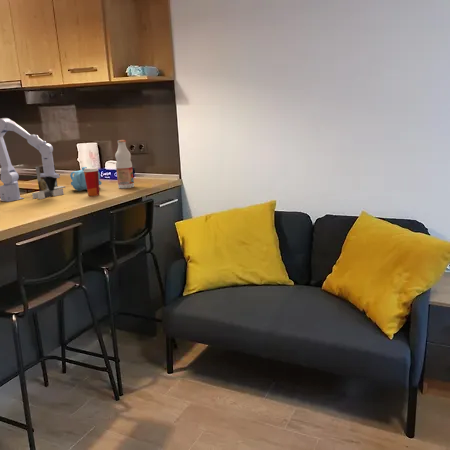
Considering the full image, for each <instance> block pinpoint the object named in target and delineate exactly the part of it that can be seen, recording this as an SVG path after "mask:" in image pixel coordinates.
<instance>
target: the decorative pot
mask: <svg viewBox="0 0 450 450" xmlns="http://www.w3.org/2000/svg"><path fill="white" fill-rule="evenodd" d="M85 168H88V167H87V166H82V167H81V169H80V170H75V171H72V172H70V174H69V175H70V179H71V180H72V181H71V182H70V186H72V188H73V189H74V190H75V191H77V192H82V191H83V190H84V191H85V190H86V191H87V186H86V180H85V175H84V172H83V171H84V169H85ZM98 177H99V186H101V185H102V184H103V182H102V180H100V179H101V173H100V171H98Z"/></svg>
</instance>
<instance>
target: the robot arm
mask: <svg viewBox="0 0 450 450" xmlns="http://www.w3.org/2000/svg"><path fill="white" fill-rule="evenodd" d="M8 131H11V132H14V133H16V134H18V135H19V136H21V137H22V138H24V139H26V141H27V144H29V145H30V146H31V147H34V148H35V149H36V150H37V151H38V152H39V153H40V155H41V163H42V165H43V171H44V173H41V174H40V177H46V178H44V181H45V182H46V184H47V186H48V188H49V191H53V190H54V186H55V182H56V180H58V179H59V178H61V177H60V174H59V173H57V172H56V169H55V170H54V165H55V163H54V156H53V152H54V147H53V145H52V144H51V143H50V142H49V143H48V142H47V141H46V140H43V139H42V138H40V137H39V135H38V134H34V133H33V134H30V133H29V132H28V131H27V130H25V129H24V128H23V127H22V126H21V125H19V124H18V123H16V122H15V121H14V120H12V119H10V118H8V117H2V118H0V167H1V168H0V182H2V184H3V185H0V201H1V202H6V203H9V202H13V201H18V200H23V199H24V197H21V194H20V187H19V182H18V181H19V179H20V178H19V177H20V175H19V173H18V172H17V171H16V168H15V167H14V165H13V164H12V162H11V158H10V156H9V151H8V150H7V144H6V142H5V139H4V136H5V134H6V133H7V132H8ZM55 172H56V173H55Z"/></svg>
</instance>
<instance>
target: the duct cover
mask: <svg viewBox="0 0 450 450" xmlns="http://www.w3.org/2000/svg"><path fill="white" fill-rule="evenodd" d="M46 187H47V189H46V190H49V188H48V186H47V184H46ZM56 189H66V186H63V185H58V187H54V190H56Z"/></svg>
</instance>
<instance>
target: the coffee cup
mask: <svg viewBox="0 0 450 450" xmlns="http://www.w3.org/2000/svg"><path fill="white" fill-rule="evenodd" d="M98 168H99V167H87V168H85V169H84V171H83V172H84V175H85V180H86V186H87V190H86V191H87V195H88V197H97V196H99V195H100V185H99V181H100V179H99V177H98V172H99V169H98Z"/></svg>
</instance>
